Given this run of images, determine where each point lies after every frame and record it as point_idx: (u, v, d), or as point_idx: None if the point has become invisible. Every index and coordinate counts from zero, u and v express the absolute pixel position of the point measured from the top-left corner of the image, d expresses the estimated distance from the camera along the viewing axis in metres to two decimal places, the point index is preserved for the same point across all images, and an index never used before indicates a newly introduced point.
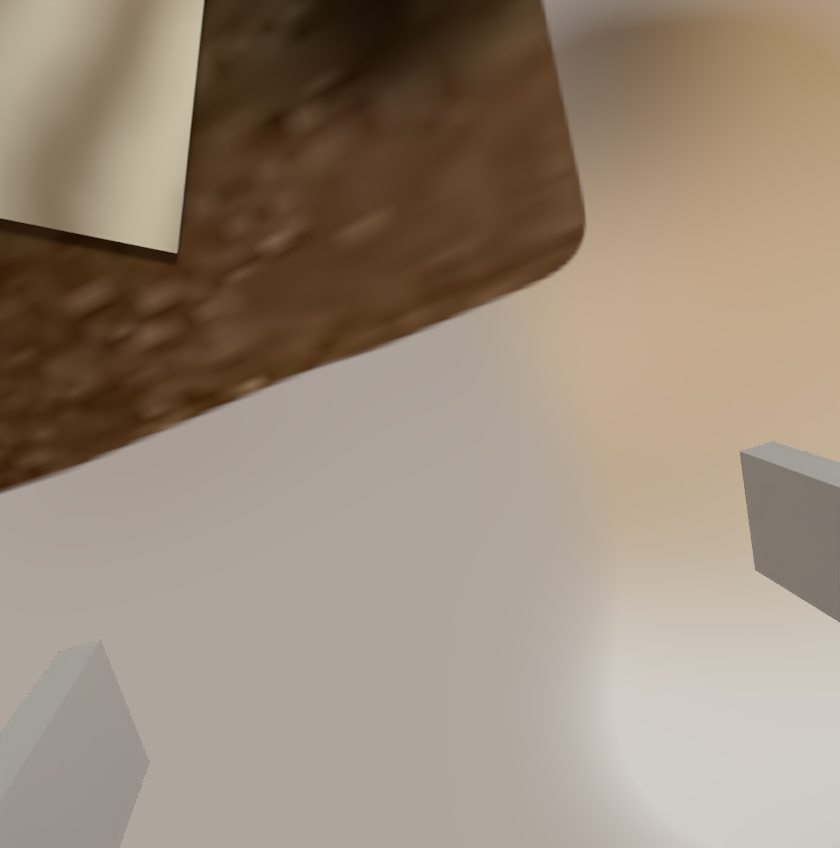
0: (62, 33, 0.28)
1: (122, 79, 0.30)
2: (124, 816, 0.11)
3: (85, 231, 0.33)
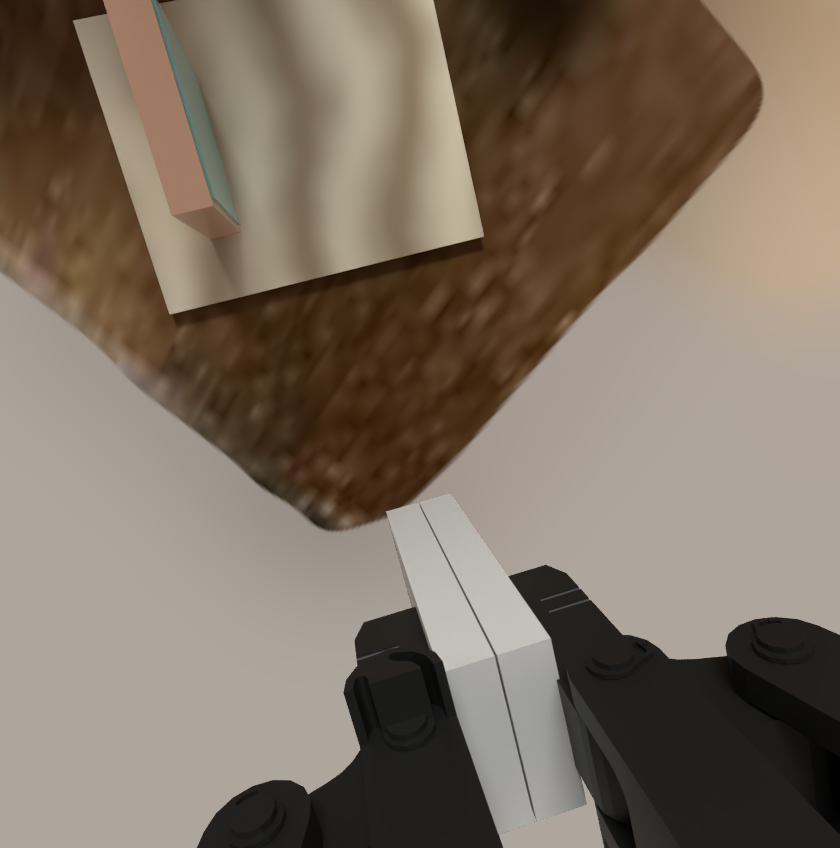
0: (374, 123, 0.43)
1: (415, 133, 0.43)
2: None
3: (423, 248, 0.45)
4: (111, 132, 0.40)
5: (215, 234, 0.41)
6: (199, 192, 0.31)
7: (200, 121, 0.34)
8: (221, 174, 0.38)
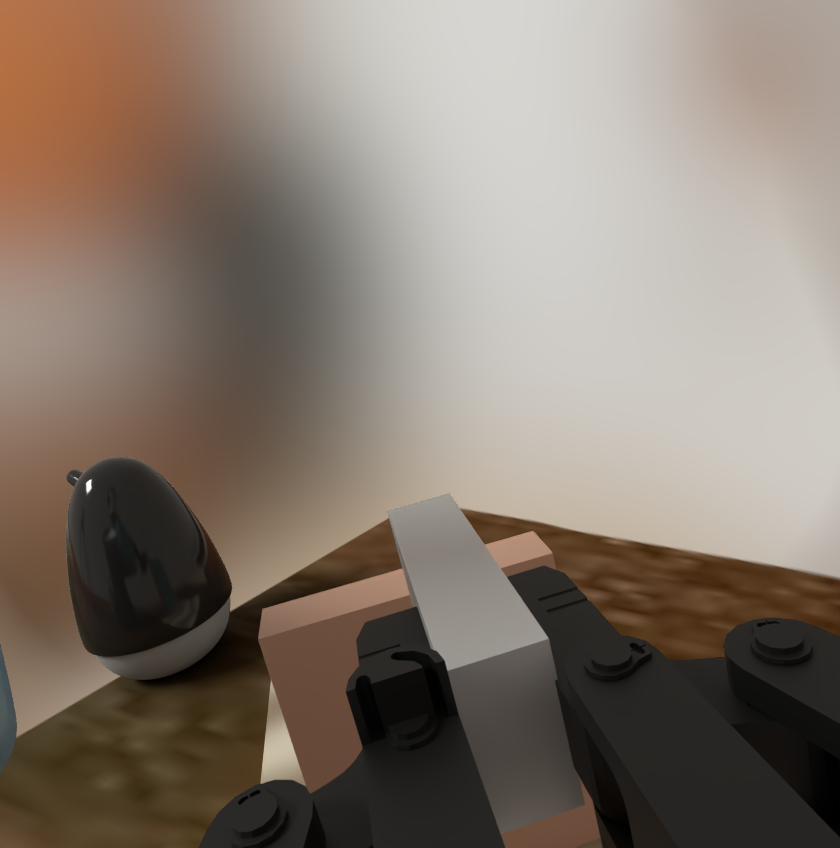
0: None
1: None
2: None
3: None
4: None
5: None
6: (517, 541, 0.23)
7: None
8: None
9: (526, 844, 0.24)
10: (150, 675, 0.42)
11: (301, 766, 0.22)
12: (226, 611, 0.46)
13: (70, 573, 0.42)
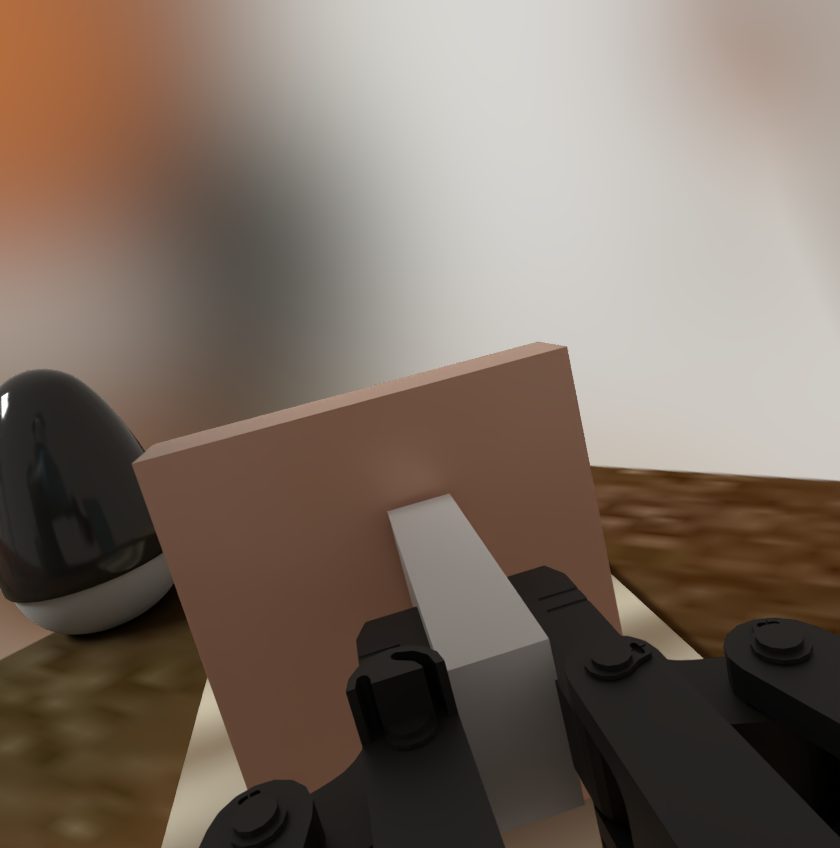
0: None
1: None
2: None
3: None
4: None
5: None
6: (516, 350, 0.16)
7: None
8: None
9: None
10: (81, 627, 0.35)
11: (206, 665, 0.15)
12: None
13: None
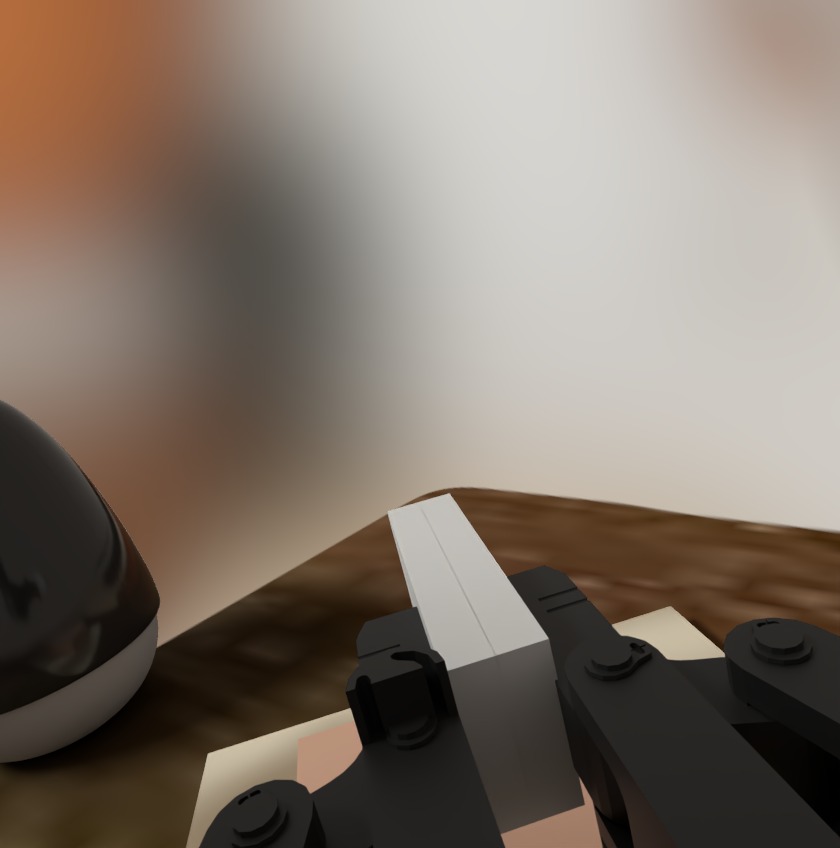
0: None
1: None
2: None
3: None
4: None
5: None
6: None
7: None
8: None
9: None
10: (8, 757, 0.25)
11: None
12: (147, 645, 0.28)
13: None
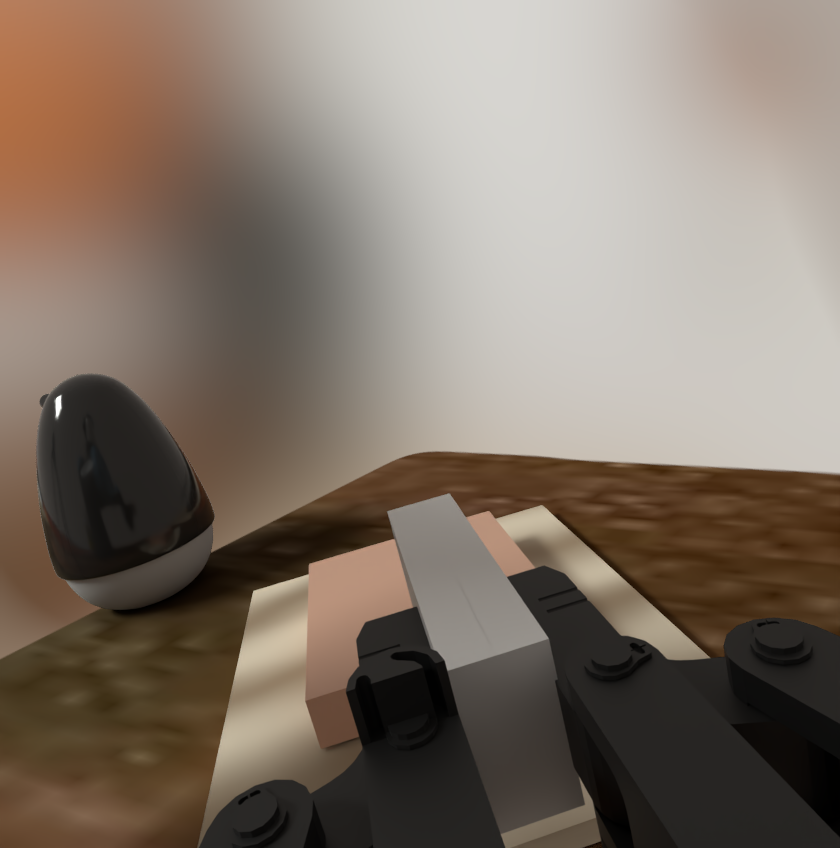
0: None
1: None
2: None
3: (565, 530, 0.35)
4: None
5: None
6: None
7: None
8: None
9: None
10: (125, 602, 0.40)
11: (309, 607, 0.29)
12: (208, 539, 0.43)
13: (40, 492, 0.39)
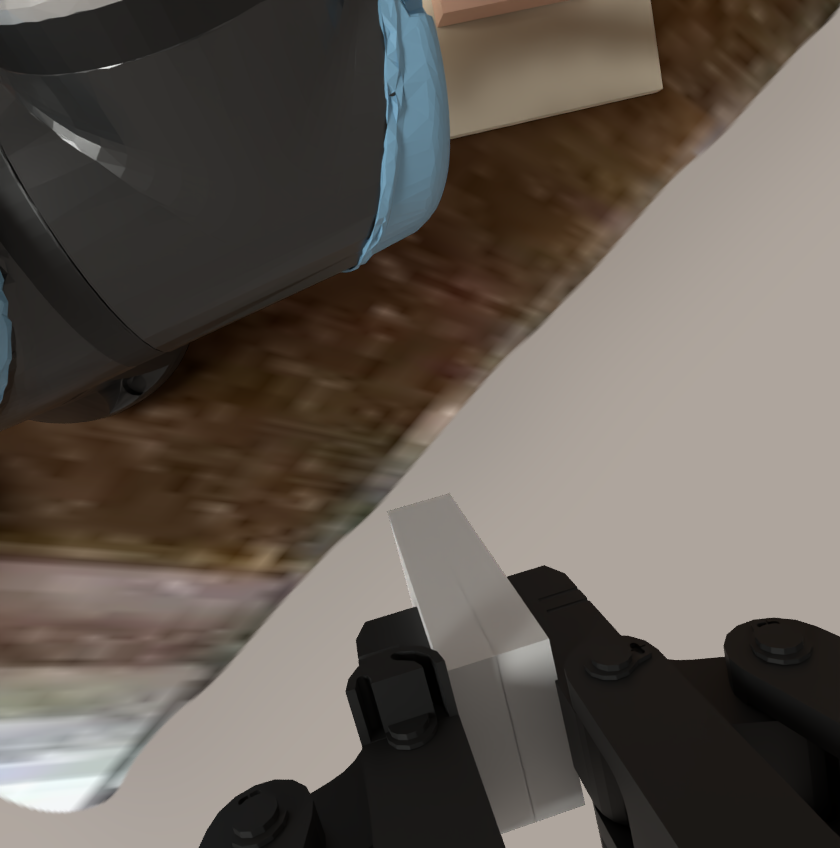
0: None
1: None
2: None
3: None
4: (495, 124, 0.41)
5: None
6: None
7: None
8: None
9: None
10: None
11: None
12: None
13: None
